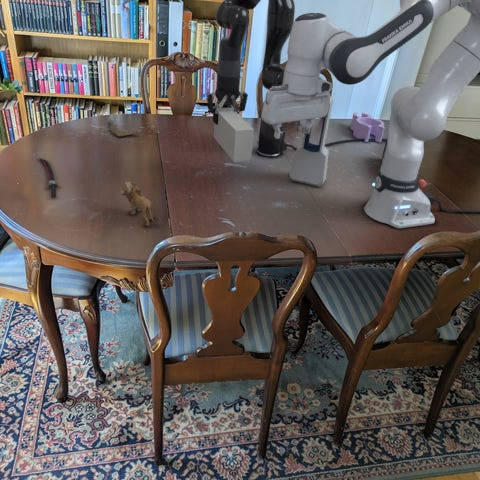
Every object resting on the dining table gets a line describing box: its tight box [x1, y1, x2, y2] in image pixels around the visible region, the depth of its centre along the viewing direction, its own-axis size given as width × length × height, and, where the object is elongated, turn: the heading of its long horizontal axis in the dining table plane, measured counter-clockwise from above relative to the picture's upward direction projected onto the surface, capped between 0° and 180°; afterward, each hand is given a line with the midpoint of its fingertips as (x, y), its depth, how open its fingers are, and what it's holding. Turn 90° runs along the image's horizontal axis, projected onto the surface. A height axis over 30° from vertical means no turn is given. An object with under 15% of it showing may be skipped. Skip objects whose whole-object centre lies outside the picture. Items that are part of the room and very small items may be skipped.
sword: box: [40, 158, 59, 198], centre depth 151 cm, size 31×3×1 cm, turn 26°
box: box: [213, 107, 255, 163], centre depth 154 cm, size 21×6×10 cm, turn 20°
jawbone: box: [108, 119, 142, 137], centre depth 191 cm, size 9×20×2 cm, turn 50°
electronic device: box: [288, 95, 335, 188], centre depth 159 cm, size 12×8×30 cm, turn 71°
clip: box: [349, 112, 386, 143], centre depth 214 cm, size 20×12×7 cm, turn 11°
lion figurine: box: [119, 181, 159, 227], centre depth 134 cm, size 15×5×9 cm, turn 50°
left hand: (225, 123), depth 160 cm, fingers closed on box, 6 cm apart
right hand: (291, 135), depth 125 cm, fingers open, 8 cm apart
